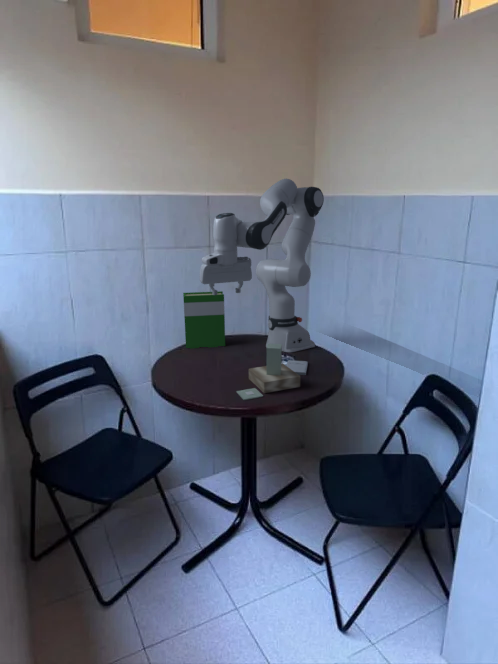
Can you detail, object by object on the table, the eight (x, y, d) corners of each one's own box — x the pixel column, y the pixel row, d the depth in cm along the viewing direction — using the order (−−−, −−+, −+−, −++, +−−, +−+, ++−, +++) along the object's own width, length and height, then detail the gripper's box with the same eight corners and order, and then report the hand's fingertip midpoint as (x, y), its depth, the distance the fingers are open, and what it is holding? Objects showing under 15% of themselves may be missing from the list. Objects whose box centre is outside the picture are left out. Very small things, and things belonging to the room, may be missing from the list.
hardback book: (223, 341, 209) (222, 291, 203) (225, 346, 202) (224, 294, 196) (185, 343, 207) (183, 292, 200) (186, 348, 200) (183, 296, 193)
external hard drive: (284, 375, 171) (287, 363, 182) (305, 376, 169) (307, 364, 181) (284, 371, 170) (287, 359, 182) (305, 372, 169) (307, 361, 180)
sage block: (267, 369, 164) (267, 343, 161) (281, 370, 163) (281, 344, 160) (266, 374, 159) (266, 348, 156) (280, 375, 158) (280, 348, 156)
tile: (255, 388, 157) (255, 387, 157) (263, 396, 151) (263, 395, 151) (236, 392, 154) (236, 390, 154) (244, 400, 148) (243, 398, 148)
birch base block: (282, 373, 171) (282, 363, 170) (300, 386, 159) (300, 376, 157) (248, 378, 166) (248, 368, 165) (264, 393, 153) (264, 382, 152)
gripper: (248, 255, 174) (248, 290, 178) (197, 258, 167) (199, 294, 171) (254, 257, 169) (254, 293, 173) (202, 260, 161) (203, 297, 165)
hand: (226, 293), depth 172 cm, fingers open, 8 cm apart
